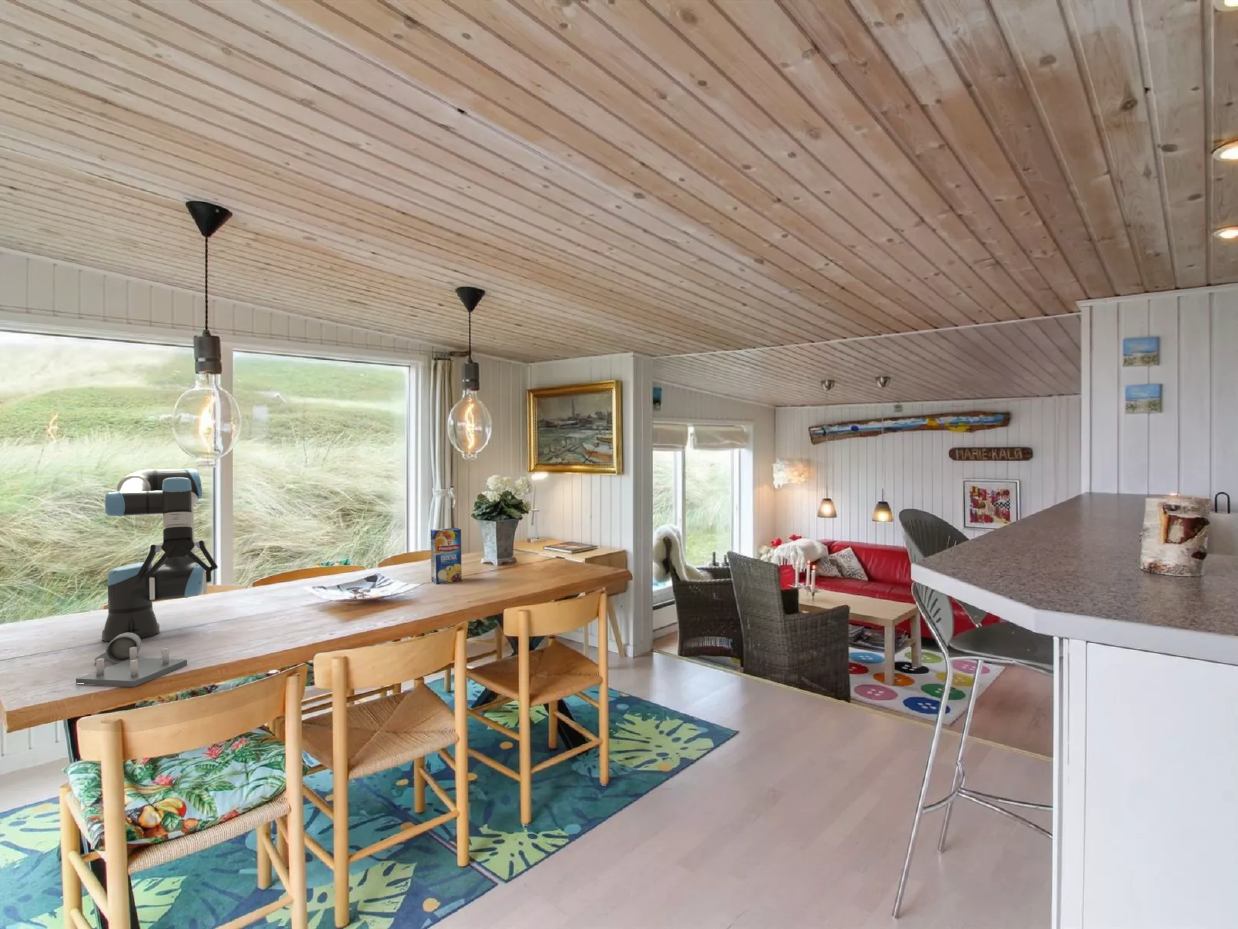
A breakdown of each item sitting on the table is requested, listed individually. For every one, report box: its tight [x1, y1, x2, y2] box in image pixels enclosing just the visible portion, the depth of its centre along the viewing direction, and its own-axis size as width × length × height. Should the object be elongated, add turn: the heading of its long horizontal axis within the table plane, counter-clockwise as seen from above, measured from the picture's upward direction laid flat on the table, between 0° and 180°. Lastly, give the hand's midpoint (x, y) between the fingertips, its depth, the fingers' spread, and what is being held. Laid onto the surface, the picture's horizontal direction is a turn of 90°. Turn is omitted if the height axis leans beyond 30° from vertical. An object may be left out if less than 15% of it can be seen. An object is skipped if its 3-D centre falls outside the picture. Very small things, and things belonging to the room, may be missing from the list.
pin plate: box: [75, 647, 188, 688], centre depth 174 cm, size 17×17×6 cm
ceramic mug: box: [94, 633, 142, 664], centre depth 187 cm, size 11×8×8 cm
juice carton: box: [430, 527, 463, 585], centre depth 296 cm, size 12×8×24 cm, turn 123°
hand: (179, 596), depth 197 cm, fingers open, 13 cm apart
